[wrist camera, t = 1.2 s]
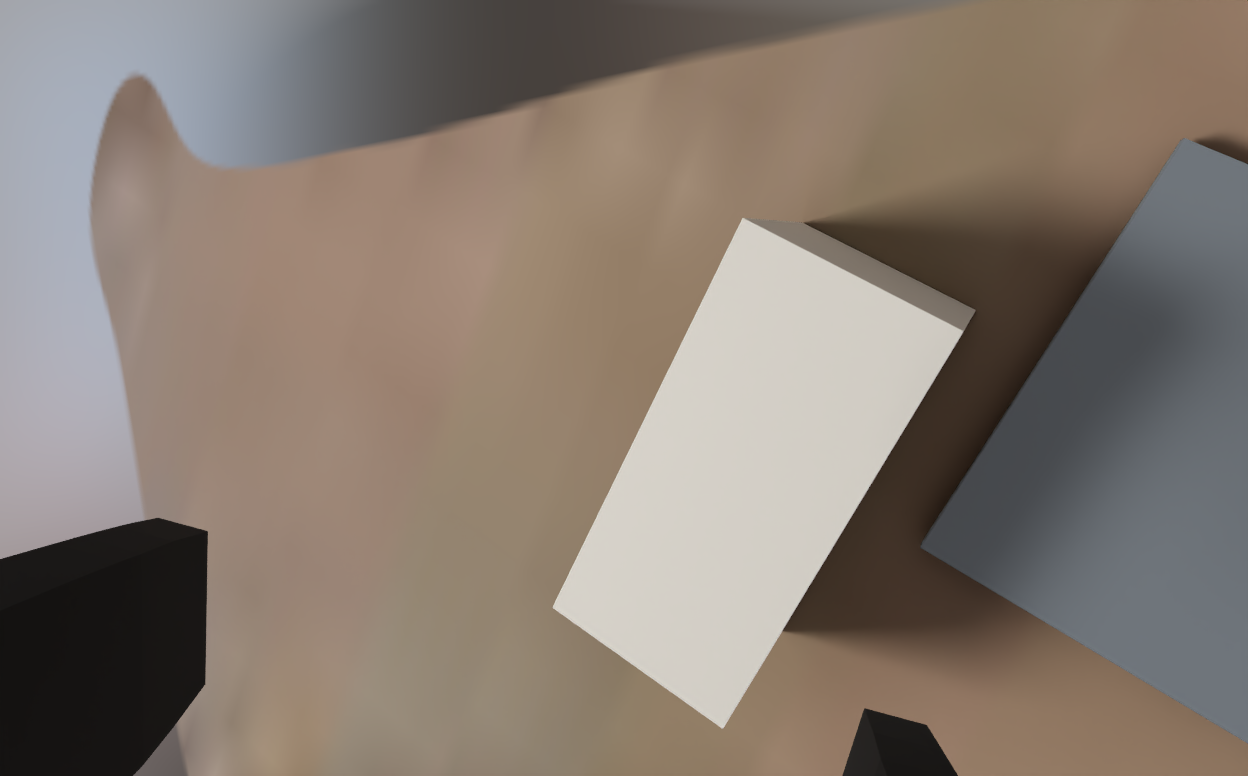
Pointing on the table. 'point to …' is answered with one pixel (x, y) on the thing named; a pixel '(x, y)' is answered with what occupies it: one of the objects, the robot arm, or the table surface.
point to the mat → (1134, 454)
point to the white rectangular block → (755, 456)
